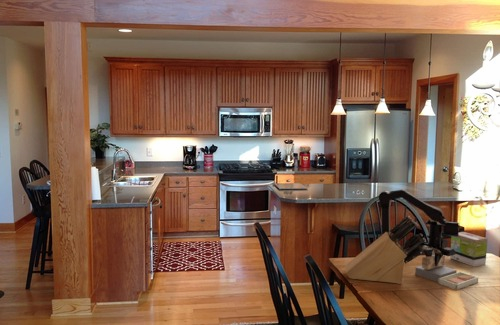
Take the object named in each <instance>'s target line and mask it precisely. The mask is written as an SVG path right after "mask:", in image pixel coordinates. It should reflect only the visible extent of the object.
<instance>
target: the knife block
mask: <svg viewBox="0 0 500 325" xmlns="http://www.w3.org/2000/svg"><path fill="white" fill-rule="evenodd" d="M417 227H419V223H418V222H415V220H414V219H412V217H411V215H407V216H406V217H404V218H403V219H402V220H400V221H399V222H398V223H397V224H395V225H394V226H393V227H392V228H390V231H389V232H388V233H387V232H385V233H384V234H383V235H382V234H381V235H380V236H379V237H377V239H375V240H374V241H373V242H371V244H370V245H368V246H367V247H365V249H363V250H362V251H361V252H360V253H359V254H357V255H356V256H355V257H354V258H353V259H351V261H349V262H347V264H345V270H344V271H345V275H346V276H347V277H348V278H349V279H352V280H361V281H362V280H363V281H373V282H383V283H394V284H398V285H399V284H400V285H401V284H403V274H404V264H408V263H409V262H411V261H413V260H414V259H416V258H418V257H419V256H420V255H424V251H423V246H421V244H422V243H423V242H425V241H427V240H426V237H423V233H419V234H413V235H411V236H410V238H408V239H407V240H405V242H404V245H402V246H401V245H400V243H399V241H401V240H403V239H404V238H405V237H407V236H408V235H409V234H410V233H412V231H414V230H415V229H416V228H417Z"/></svg>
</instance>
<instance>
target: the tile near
mask: <svg viewBox="0 0 500 325" xmlns="http://www.w3.org/2000/svg"><path fill="white" fill-rule="evenodd" d="M448 281H449V282H452V283H455V284H458V283H461V282H464V281H463V280H460V279H457V278H452V279H449V280H448Z"/></svg>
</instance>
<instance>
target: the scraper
mask: <svg viewBox="0 0 500 325" xmlns="http://www.w3.org/2000/svg"><path fill="white" fill-rule="evenodd" d="M445 258H446V256H445V255H443V256H442V257H441V259H440V261H439V263H438V265H437V266H435V254H434V255H433V254H432V256H428V257H426V256H424V257H422V259H421V266H422V268H424V269H427V270H428V269H432V268H436V267H440V266H445V260H446V259H445Z"/></svg>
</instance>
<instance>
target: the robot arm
mask: <svg viewBox="0 0 500 325" xmlns="http://www.w3.org/2000/svg"><path fill="white" fill-rule="evenodd" d="M397 199H402V200H405V201H406V202H408V203H409V204H411V205H413V206H414V207H416V208H417V209H419V210H421V211H422V212H423V213H424V214H425V215H426V216H427V217H428V219H427V220H426V221H425V225H429V227H428V228H429V229H428V235H426V238H428V241H427V240H426V241H425V242H423V243H422V244H421V247H422V249H423V251H424V252H423V254H424V256H425V257H428V256H433V252H434V251H436V252H435V253H434V255H435V266H437V265H438V263H439V261H440V259H441V257H442V256H443V255H445V257H450V256H452V255H455V250H454V249H453V248H451V247H449V246H448V244H449V240H447V239H444V236H442V235H443V234H444V235H445V236H449V237H451V236H455V237H458V235H459V231H460V228H459V226H460V222H458V221H457V222H456V221H455V222H453V221H448V220H447V219H446V217H445V216H444V212H443V210H442V209H441V208H440V207H437V206H434V205H431V204H429V203H427V202H425V201H423V200H422V199H420V198H418V197H417V196H415V195H414V194H412V193H411V192H409V191H407V190H406V189H403V188H401V189H398V190H397V189H396V190H386V189H385V190H383V191H381V192H380V193H379V195H378V201H379V205H380V208H381V236H382V235H383V234H384V233H385V232H387V233H388V232H389V231H390V230H391V205H392V201H393V200H397ZM442 233H443V234H442Z"/></svg>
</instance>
